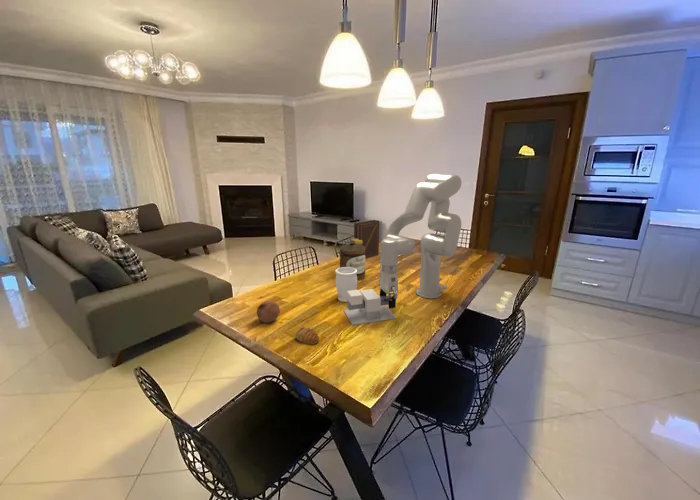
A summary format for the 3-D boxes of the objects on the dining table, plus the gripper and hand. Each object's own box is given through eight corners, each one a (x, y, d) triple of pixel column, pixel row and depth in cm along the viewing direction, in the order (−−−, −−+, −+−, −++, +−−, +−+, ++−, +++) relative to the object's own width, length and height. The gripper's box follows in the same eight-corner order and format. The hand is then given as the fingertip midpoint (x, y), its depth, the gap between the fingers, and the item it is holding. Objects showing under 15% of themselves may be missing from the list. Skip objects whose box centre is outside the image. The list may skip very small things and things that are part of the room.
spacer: (357, 297, 135) (357, 289, 134) (362, 303, 130) (362, 295, 128) (347, 299, 134) (347, 290, 133) (351, 305, 128) (351, 296, 127)
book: (372, 252, 228) (373, 219, 221) (380, 255, 222) (381, 221, 215) (349, 258, 214) (349, 223, 207) (357, 261, 208) (358, 225, 201)
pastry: (323, 339, 117) (323, 330, 116) (311, 348, 112) (311, 339, 111) (305, 332, 123) (305, 323, 121) (293, 339, 117) (292, 331, 116)
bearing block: (384, 305, 145) (385, 285, 142) (396, 318, 133) (397, 297, 130) (343, 311, 139) (343, 291, 136) (352, 325, 127) (352, 303, 124)
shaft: (389, 301, 139) (389, 295, 138) (391, 304, 136) (392, 297, 135) (347, 307, 133) (347, 300, 132) (349, 310, 130) (349, 303, 129)
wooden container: (350, 283, 171) (350, 245, 165) (334, 275, 182) (334, 240, 176) (370, 277, 180) (370, 241, 174) (353, 270, 191) (354, 236, 185)
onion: (263, 331, 128) (252, 316, 123) (262, 315, 136) (252, 300, 130) (284, 322, 129) (274, 306, 123) (282, 307, 137) (272, 291, 131)
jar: (338, 304, 146) (338, 275, 141) (333, 295, 155) (333, 267, 151) (359, 301, 148) (360, 272, 144) (353, 293, 158) (354, 265, 154)
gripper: (405, 273, 125) (403, 310, 130) (388, 260, 141) (387, 294, 146) (389, 274, 123) (387, 313, 128) (373, 261, 139) (372, 296, 144)
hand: (387, 303), depth 137 cm, fingers open, 9 cm apart
